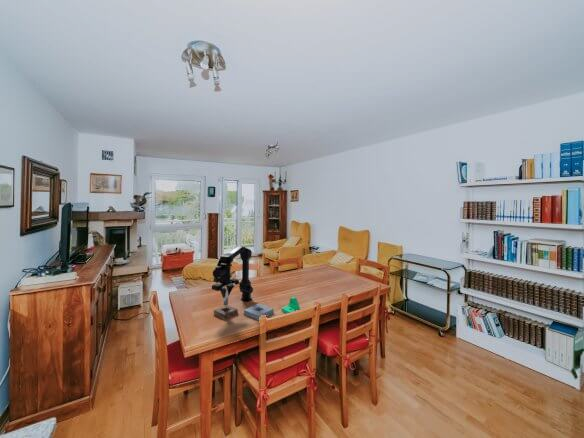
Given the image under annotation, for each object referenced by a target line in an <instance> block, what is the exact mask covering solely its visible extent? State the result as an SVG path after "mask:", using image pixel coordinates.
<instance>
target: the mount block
mask: <svg viewBox="0 0 584 438" xmlns="http://www.w3.org/2000/svg"><path fill="white" fill-rule="evenodd" d="M238 312H239V310H238V308H236V307H234V306H230V305H229V304H228V305H223V306H220V307H218V308H215V309H214V310H213V315H214V316H216V317H218V318H220V319H223V320H226V319H228V318H232V317H233V316H235V315H238Z"/></svg>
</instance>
